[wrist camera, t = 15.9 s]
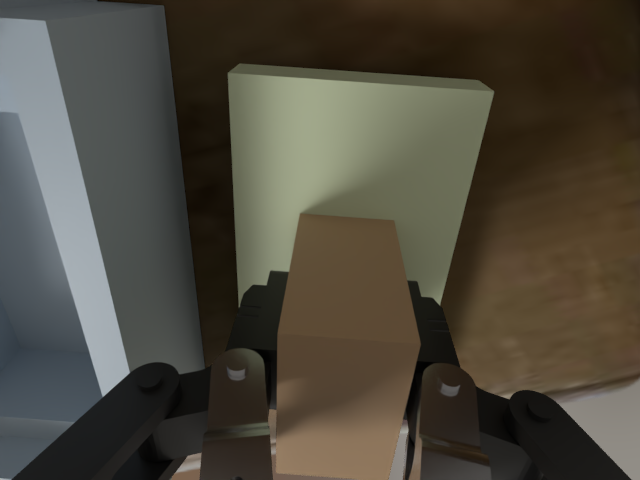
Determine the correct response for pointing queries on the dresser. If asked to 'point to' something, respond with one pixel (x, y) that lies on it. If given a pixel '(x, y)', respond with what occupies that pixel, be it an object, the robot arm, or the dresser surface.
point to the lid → (348, 241)
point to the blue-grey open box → (87, 214)
